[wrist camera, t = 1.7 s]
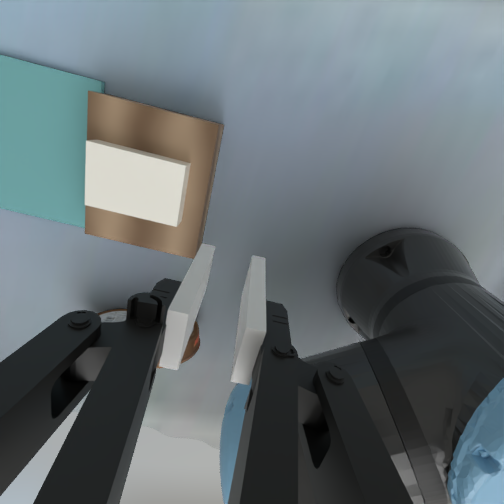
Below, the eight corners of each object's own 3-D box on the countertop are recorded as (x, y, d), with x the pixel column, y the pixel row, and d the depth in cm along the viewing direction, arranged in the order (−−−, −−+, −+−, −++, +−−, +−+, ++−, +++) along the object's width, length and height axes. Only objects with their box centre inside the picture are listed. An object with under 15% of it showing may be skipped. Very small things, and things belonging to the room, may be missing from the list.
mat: (104, 82, 30) (101, 81, 30) (98, 228, 36) (95, 230, 36) (-82, 32, 29) (-89, 31, 28) (-56, 192, 35) (-61, 194, 35)
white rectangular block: (190, 163, 29) (185, 165, 27) (181, 220, 31) (176, 226, 29) (97, 139, 28) (86, 140, 27) (95, 200, 31) (84, 204, 29)
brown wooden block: (224, 124, 31) (218, 124, 28) (201, 245, 37) (194, 259, 33) (109, 94, 30) (87, 90, 27) (103, 222, 36) (84, 233, 32)
